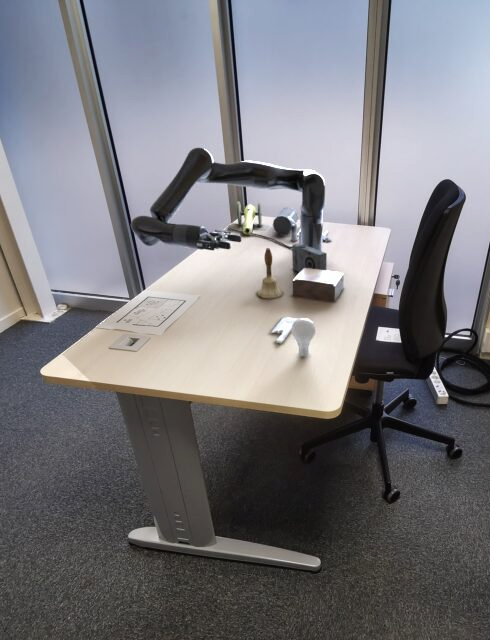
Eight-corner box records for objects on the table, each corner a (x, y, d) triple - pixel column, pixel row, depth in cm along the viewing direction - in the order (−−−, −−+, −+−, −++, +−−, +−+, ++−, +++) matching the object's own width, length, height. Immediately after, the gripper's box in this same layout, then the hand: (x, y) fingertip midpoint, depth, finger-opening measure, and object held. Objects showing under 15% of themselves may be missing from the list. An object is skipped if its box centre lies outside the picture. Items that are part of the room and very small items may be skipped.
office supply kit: (329, 244, 205) (329, 224, 200) (269, 240, 206) (268, 219, 201) (336, 222, 238) (337, 204, 233) (285, 218, 239) (284, 200, 234)
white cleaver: (264, 340, 127) (264, 337, 126) (282, 319, 139) (282, 316, 138) (281, 343, 126) (281, 339, 125) (297, 321, 138) (297, 318, 137)
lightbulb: (292, 349, 124) (291, 313, 117) (315, 349, 124) (315, 313, 118) (291, 361, 118) (290, 324, 112) (315, 361, 119) (315, 324, 113)
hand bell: (285, 291, 157) (284, 247, 148) (275, 300, 150) (272, 254, 141) (264, 287, 159) (262, 243, 150) (253, 296, 152) (249, 250, 143)
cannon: (260, 235, 211) (258, 211, 205) (234, 235, 210) (232, 210, 203) (262, 222, 231) (261, 199, 225) (239, 221, 230) (237, 198, 224)
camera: (290, 268, 176) (290, 243, 171) (298, 266, 179) (297, 241, 173) (319, 280, 167) (319, 254, 162) (326, 278, 170) (327, 252, 164)
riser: (292, 296, 154) (292, 279, 151) (303, 283, 165) (303, 266, 161) (334, 302, 152) (335, 285, 148) (343, 288, 162) (343, 272, 159)
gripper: (202, 242, 157) (245, 247, 155) (181, 253, 145) (227, 260, 143) (199, 220, 153) (243, 225, 151) (177, 230, 141) (224, 236, 139)
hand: (235, 242), depth 147 cm, fingers open, 8 cm apart
